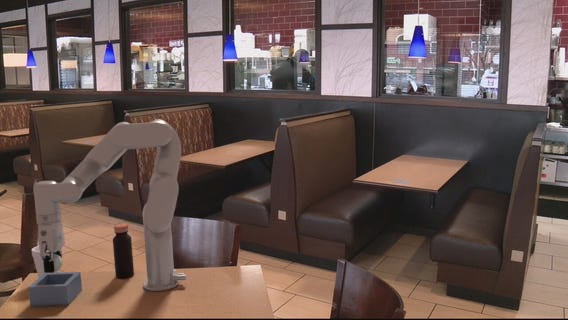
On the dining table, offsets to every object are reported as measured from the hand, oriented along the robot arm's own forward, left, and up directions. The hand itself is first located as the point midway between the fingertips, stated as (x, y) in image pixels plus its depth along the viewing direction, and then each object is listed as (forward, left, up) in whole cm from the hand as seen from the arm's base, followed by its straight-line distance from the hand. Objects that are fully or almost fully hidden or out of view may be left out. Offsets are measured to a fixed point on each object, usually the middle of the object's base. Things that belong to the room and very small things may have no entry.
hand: (53, 268), depth 176 cm
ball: (0, 0, +2) cm, 2 cm away
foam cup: (+10, -17, -11) cm, 23 cm away
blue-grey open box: (0, 0, -11) cm, 11 cm away
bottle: (-18, -19, -11) cm, 29 cm away
